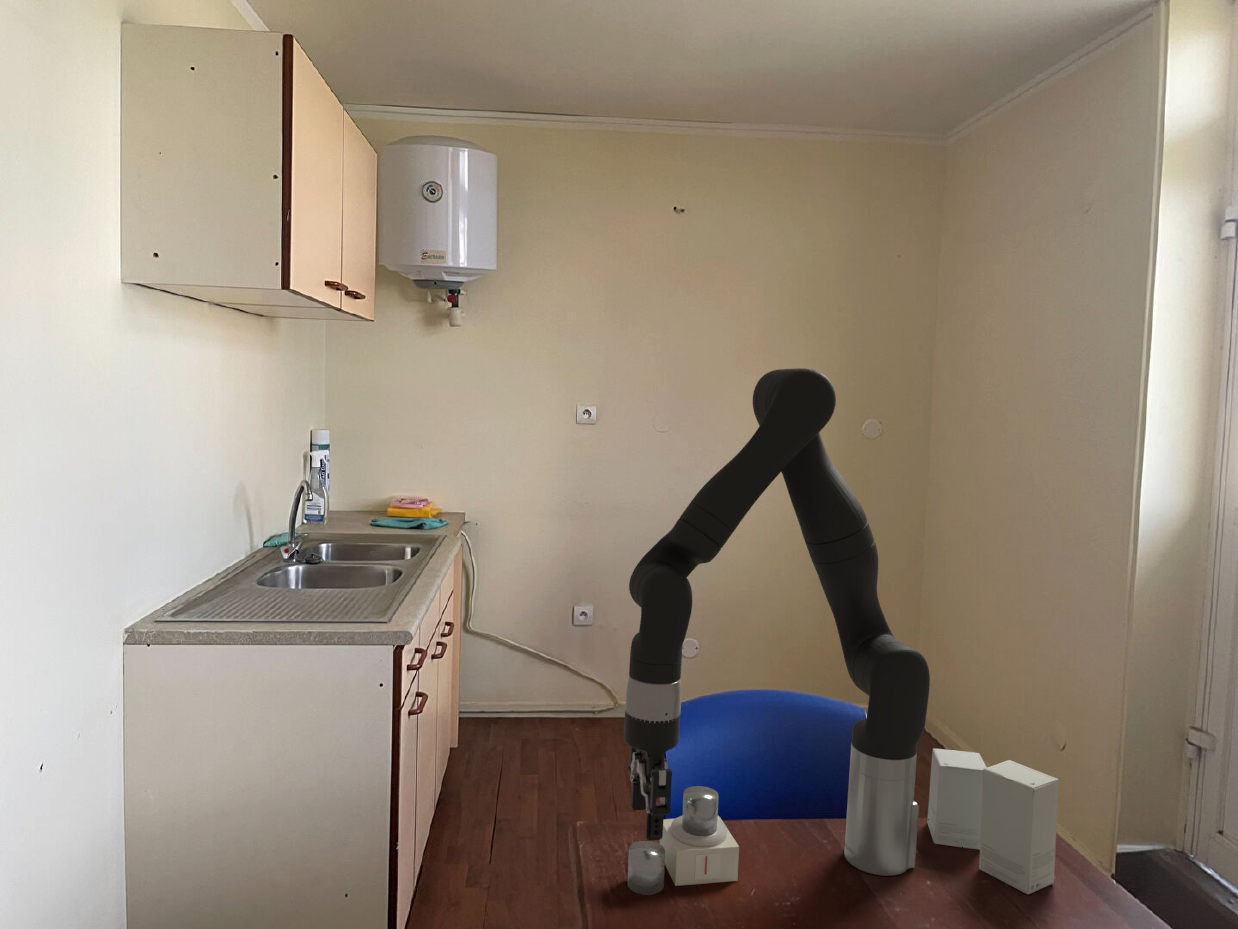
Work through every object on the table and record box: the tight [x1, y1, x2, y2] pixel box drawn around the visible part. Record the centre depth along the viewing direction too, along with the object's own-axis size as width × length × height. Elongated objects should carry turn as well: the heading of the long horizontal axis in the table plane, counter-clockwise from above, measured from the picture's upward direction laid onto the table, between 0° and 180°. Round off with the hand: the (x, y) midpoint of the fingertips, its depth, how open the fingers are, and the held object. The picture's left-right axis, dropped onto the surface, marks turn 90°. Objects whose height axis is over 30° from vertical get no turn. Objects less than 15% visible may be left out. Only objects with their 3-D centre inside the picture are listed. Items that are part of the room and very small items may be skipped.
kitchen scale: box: [659, 815, 740, 887], centre depth 128 cm, size 9×9×6 cm
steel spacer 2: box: [681, 785, 719, 836], centre depth 128 cm, size 5×5×5 cm
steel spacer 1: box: [627, 840, 666, 896], centre depth 123 cm, size 5×5×5 cm
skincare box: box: [978, 759, 1060, 895], centre depth 128 cm, size 8×7×16 cm
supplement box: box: [926, 748, 987, 851], centre depth 140 cm, size 7×7×13 cm
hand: (646, 823), depth 122 cm, fingers open, 8 cm apart
